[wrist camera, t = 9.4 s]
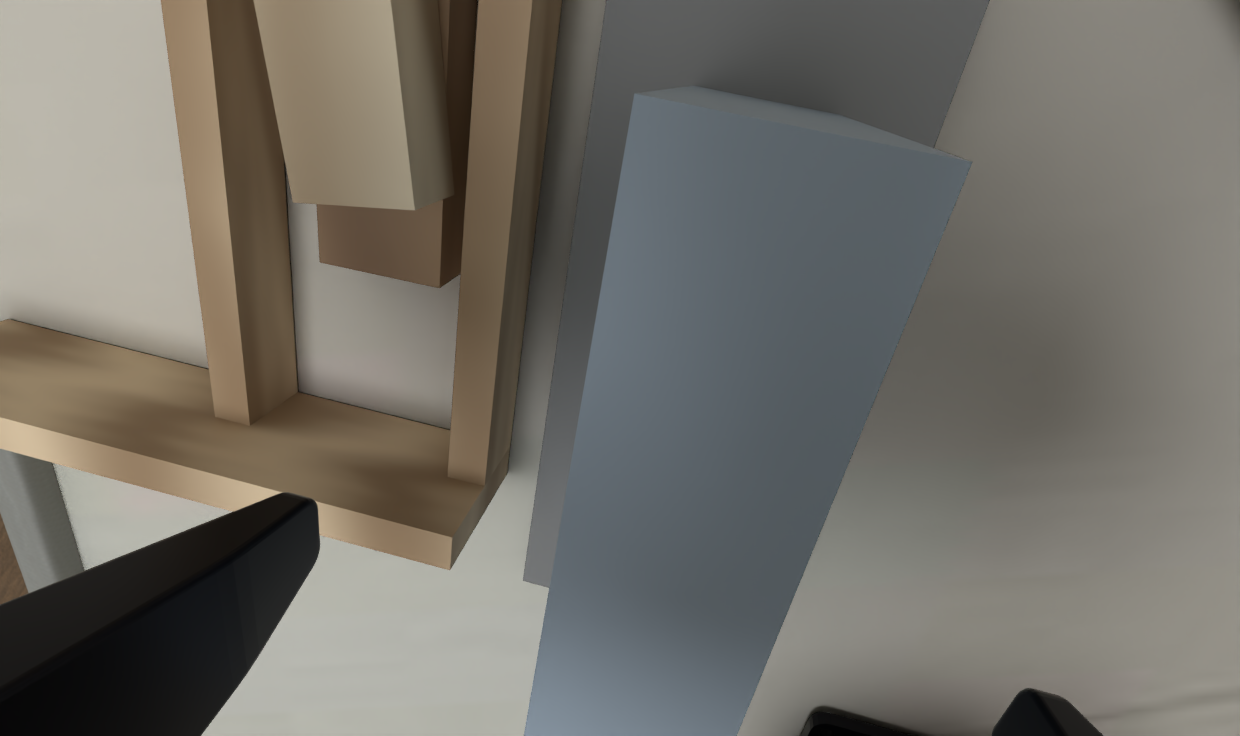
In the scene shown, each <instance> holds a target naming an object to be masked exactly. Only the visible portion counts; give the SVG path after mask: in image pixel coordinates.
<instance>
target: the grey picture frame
mask: <svg viewBox="0 0 1240 736" xmlns="http://www.w3.org/2000/svg"><path fill="white" fill-rule="evenodd" d="M83 571H84V568H83V565H82V561H81V558H80V555H79V551H78V548H77V545H76V541H75V538H74V535H73V531H72V528H71V525H70V521H69V518H68V515H67V511H66V508H65V504H64V501H63V498H62V494H61V491H60V488H59V484H58V481H57V478H56V474H55V471H54V468H53V464H52V462H48V461H45V460H41V459H37V458H33V457H30V456H26V455H22V454H19V453H15V452H11V451H8V450H4V449H0V604H3V603H5V602H8V601H10V600H13V599H15V598H18V597H20V596H23V595H25V594H28V593H30V592H33V591H35V590H38V589H40V588H43V587H45V586H48V585H50V584H53V583H55V582H58V581H60V580H63V579H65V578H68V577H70V576H73V575H75V574H78V573H80V572H83Z"/></svg>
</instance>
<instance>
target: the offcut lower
mask: <svg viewBox="0 0 1240 736" xmlns="http://www.w3.org/2000/svg"><path fill="white" fill-rule="evenodd" d="M438 11H439V23H440V34H441V46H442V57H443V69H444V80H445V92H446V103H447V115H448V126H449V138H450V149H451V161H452V172H453V183H454V195H453V196H450V197H447V198H445V199H442V200H440V201H437V202H435V203H432V204H430V205H427V206H425V207H422V208H420V209H417V210H400V209H385V208H370V207H354V206H339V205H323V204H317V220H318V239H319V258H320V262H321V263H325V264H330V265H335V266H339V267H344V268H349V269H353V270H358V271H362V272H367V273H372V274H376V275H381V276H386V277H390V278H395V279H400V280H404V281H409V282H413V283H418V284H423V285H427V286H432V287H437V288H441V287H442V286H443V285H445V284H446V283H448V282H449V281H451V280H452V279H453V278H455V277H456V276H458V275H459V274H460V273H461V261H462V246H463V231H464V215H465V200H466V185H467V169H468V154H469V139H470V123H471V107H472V88H473V69H474V49H475V30H476V11H477V0H438Z"/></svg>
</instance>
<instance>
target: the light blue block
mask: <svg viewBox="0 0 1240 736" xmlns="http://www.w3.org/2000/svg"><path fill="white" fill-rule="evenodd" d="M971 164H972V162H971V161H968V160H966V159H963V158H960V157H957V156H954V155H951V154H949V153H946V152H943V151H940V150H937V149H935V148H932V147H929V146H926V145H923V144H920V143H918V142H915V141H912V140H909V139H906V138H904V137H901V136H898V135H895V134H892V133H890V132H887V131H884V130H881V129H878V128H875V127H873V126H870V125H867V124H864V123H861V122H859V121H856V120H853V119H850V118H847V117H844V116H842V115H838V114H833V113H828V112H823V111H818V110H813V109H808V108H803V107H798V106H793V105H788V104H783V103H778V102H773V101H768V100H763V99H758V98H753V97H748V96H743V95H738V94H733V93H728V92H723V91H718V90H713V89H708V88H703V87H698V86H688V87H680V88H672V89H665V90H657V91H649V92H642V93H634V99H633V104H632V110H631V116H630V122H629V128H628V134H627V139H626V145H625V151H624V157H623V163H622V168H621V174H620V180H619V186H618V192H617V197H616V203H615V209H614V215H613V221H612V227H611V232H610V238H609V244H608V250H607V256H606V261H605V267H604V273H603V279H602V285H601V291H600V296H599V302H598V308H597V314H596V320H595V325H594V331H593V337H592V343H591V349H590V355H589V360H588V366H587V372H586V378H585V384H584V389H583V395H582V401H581V407H580V413H579V418H578V424H577V430H576V436H575V442H574V448H573V453H572V459H571V465H570V471H569V477H568V482H567V488H566V494H565V500H564V506H563V512H562V517H561V523H560V529H559V535H558V541H557V546H556V552H555V558H554V564H553V570H552V576H551V581H550V587H549V593H548V599H547V605H546V610H545V616H544V622H543V628H542V634H541V639H540V645H539V651H538V657H537V663H536V669H535V674H534V680H533V686H532V692H531V698H530V703H529V709H528V715H527V721H526V727H525V733H524V736H737V734H738V731H739V729H740V726H741V724H742V722H743V719H744V717H745V714H746V712H747V709H748V707H749V705H750V702H751V700H752V697H753V695H754V692H755V690H756V688H757V685H758V683H759V680H760V678H761V675H762V673H763V670H764V668H765V666H766V663H767V661H768V658H769V656H770V653H771V651H772V649H773V646H774V644H775V641H776V639H777V636H778V634H779V632H780V629H781V627H782V624H783V622H784V619H785V617H786V615H787V612H788V610H789V607H790V605H791V602H792V600H793V597H794V595H795V593H796V590H797V588H798V585H799V583H800V580H801V578H802V576H803V573H804V571H805V568H806V566H807V563H808V561H809V559H810V556H811V554H812V551H813V549H814V546H815V544H816V542H817V539H818V537H819V534H820V532H821V529H822V527H823V524H824V522H825V520H826V517H827V515H828V512H829V510H830V507H831V505H832V503H833V500H834V498H835V495H836V493H837V490H838V488H839V486H840V483H841V481H842V478H843V476H844V473H845V471H846V469H847V466H848V464H849V461H850V459H851V456H852V454H853V451H854V449H855V447H856V444H857V442H858V439H859V437H860V434H861V432H862V430H863V427H864V425H865V422H866V420H867V417H868V415H869V413H870V410H871V408H872V405H873V403H874V400H875V398H876V395H877V393H878V391H879V388H880V386H881V383H882V381H883V378H884V376H885V374H886V371H887V369H888V366H889V364H890V361H891V359H892V357H893V354H894V352H895V349H896V347H897V344H898V342H899V340H900V337H901V335H902V332H903V330H904V327H905V325H906V322H907V320H908V318H909V315H910V313H911V310H912V308H913V305H914V303H915V301H916V298H917V296H918V293H919V291H920V288H921V286H922V284H923V281H924V279H925V276H926V274H927V271H928V269H929V267H930V264H931V262H932V259H933V257H934V254H935V252H936V249H937V247H938V245H939V242H940V240H941V237H942V235H943V232H944V230H945V228H946V225H947V223H948V220H949V218H950V215H951V213H952V211H953V208H954V206H955V203H956V201H957V198H958V196H959V194H960V191H961V189H962V186H963V184H964V181H965V179H966V176H967V174H968V172H969V169H970V167H971Z"/></svg>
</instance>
